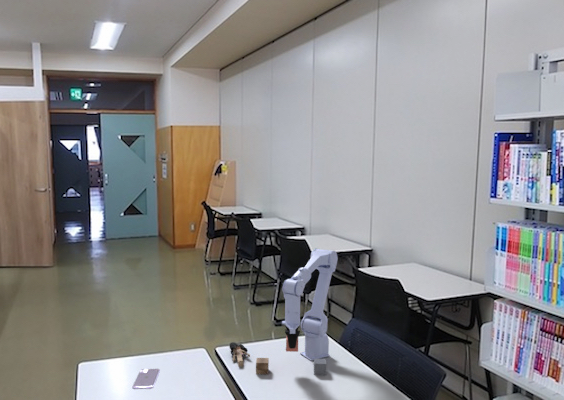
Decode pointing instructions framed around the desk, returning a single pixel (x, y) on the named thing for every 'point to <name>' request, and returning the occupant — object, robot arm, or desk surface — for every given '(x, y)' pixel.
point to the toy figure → (238, 352)
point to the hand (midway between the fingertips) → (292, 345)
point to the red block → (291, 348)
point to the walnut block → (262, 365)
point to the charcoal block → (319, 366)
